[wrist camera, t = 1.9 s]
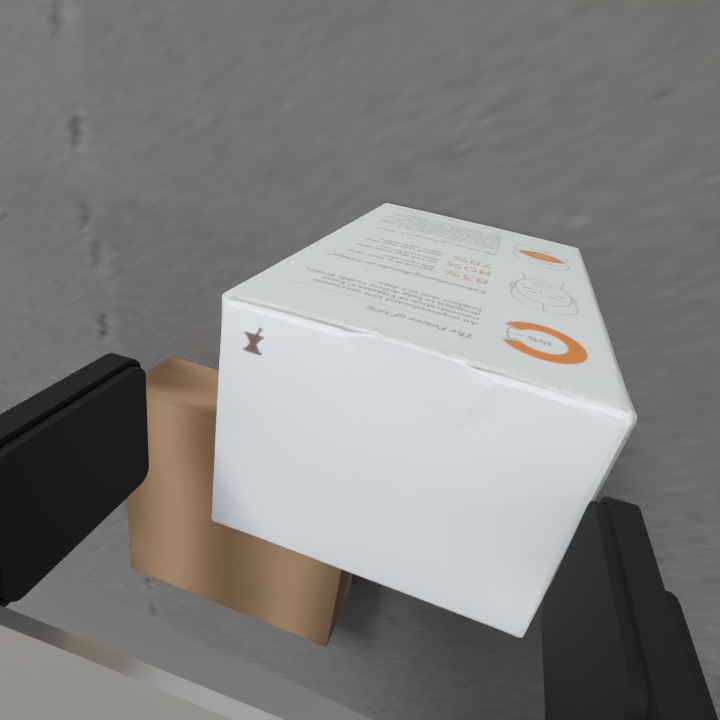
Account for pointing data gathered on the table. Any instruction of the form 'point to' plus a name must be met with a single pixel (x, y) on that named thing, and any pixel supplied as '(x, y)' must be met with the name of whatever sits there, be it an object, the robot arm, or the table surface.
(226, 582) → the walnut base
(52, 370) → the table surface
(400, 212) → the small box
